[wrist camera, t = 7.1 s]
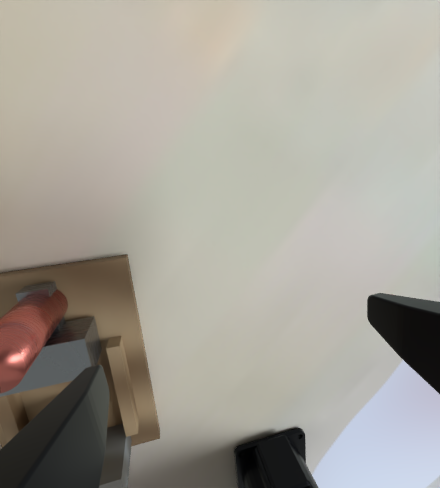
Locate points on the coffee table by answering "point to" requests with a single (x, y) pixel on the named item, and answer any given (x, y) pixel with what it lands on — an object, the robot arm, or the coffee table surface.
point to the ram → (44, 341)
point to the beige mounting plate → (111, 358)
